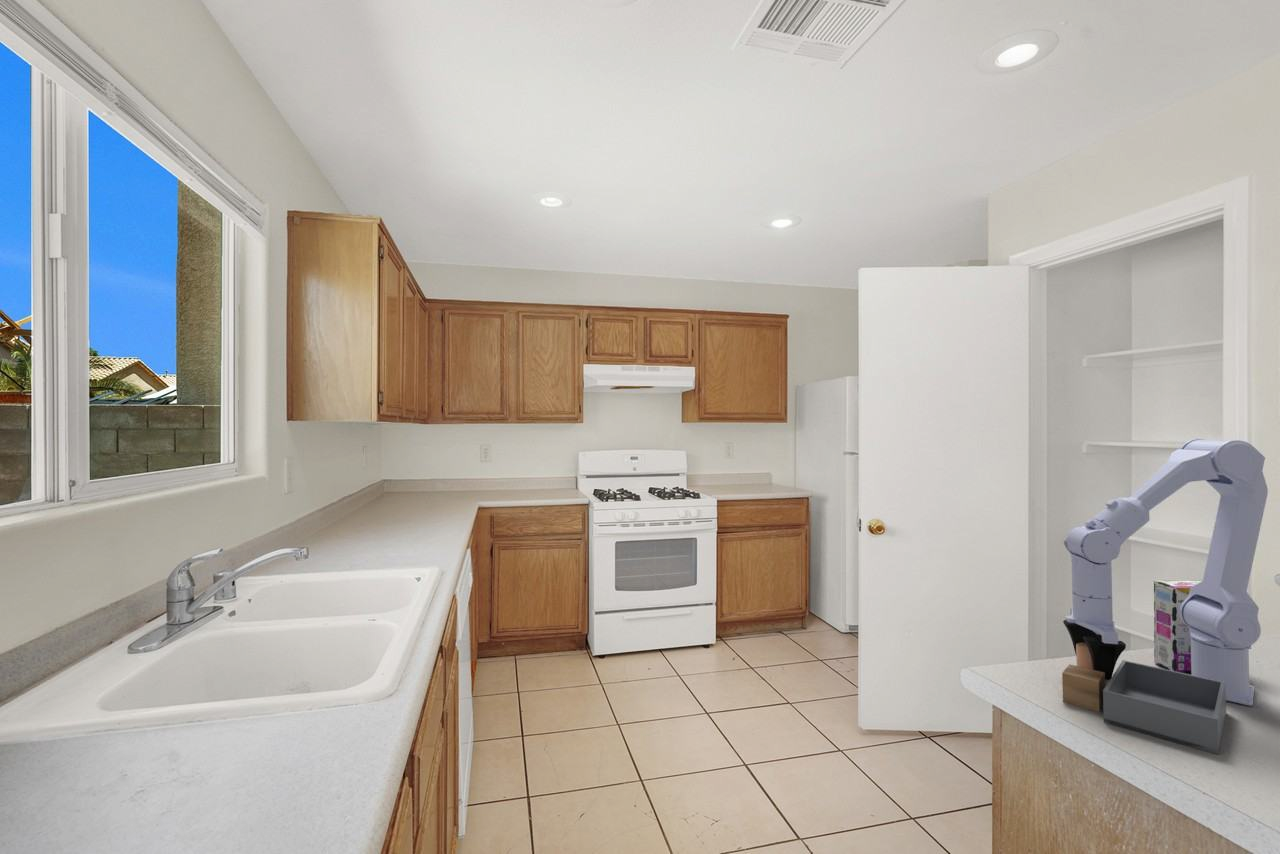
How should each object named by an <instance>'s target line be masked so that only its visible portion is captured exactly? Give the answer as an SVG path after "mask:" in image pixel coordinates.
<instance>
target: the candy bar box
mask: <svg viewBox="0 0 1280 854" xmlns="http://www.w3.org/2000/svg"><path fill="white" fill-rule="evenodd" d="M1201 581H1202V580H1154V581H1153V619H1154V622H1153V623H1154V625H1153V628H1154V629H1153V630H1154V633H1153V634H1154V635H1153V637H1154V638H1153V639H1154V642H1153V646H1154V649H1153V650H1154V651H1153V654H1154V655H1153V656H1154V660H1153V661H1154V664H1156V665H1157V666H1160V667H1162V668H1163V669H1166V670H1171V671H1176V672H1180V673H1185V674H1189V673H1190V674H1191V636H1190V633H1189V627H1188V626H1187V625H1186V624H1184V622H1183V621H1182V620H1181V617H1180V614H1179V610H1180V606H1181V604H1182V603H1183V602H1184V600H1185V599H1186V598H1187V597H1188V595H1189V592H1190V588H1191V587H1193V586H1194V585H1196V584H1198V583H1200V582H1201Z"/></svg>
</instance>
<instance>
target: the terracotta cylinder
mask: <svg viewBox="0 0 1280 854" xmlns="http://www.w3.org/2000/svg"><path fill="white" fill-rule="evenodd" d="M1075 657H1076V666H1079V667H1083V668H1087V669H1091V670H1093V666H1092V660H1091V655H1090V652H1089V649H1088V647H1087V645H1086V643H1077V644H1076V654H1075ZM1111 678H1112V677H1111ZM1109 681H1110V680H1105V687H1106V685H1107V684H1108V682H1109Z"/></svg>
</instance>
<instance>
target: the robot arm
mask: <svg viewBox="0 0 1280 854" xmlns="http://www.w3.org/2000/svg"><path fill="white" fill-rule="evenodd" d="M1265 460H1266V457H1265V455H1263V454H1262V453H1261V452H1260V451H1259V450H1258V449H1256V447H1255V446H1254V445H1252V444H1251V443H1249V442H1247V441H1245V440H1240V439H1239V440H1238V439H1236V440H1235V439H1232V440H1217V439H1215V440H1214V439H1213V440H1211V439H1203V438H1194V439H1190V440H1188V441H1186V442H1184V443H1183V444H1182V445H1181V446H1180V448H1177V449H1176V450H1174V451H1173V452H1171V454H1170V456H1169V458H1168V460H1167V461H1166V462H1165V463H1164V464H1163V465H1162V466H1160V468H1159V469H1158V470H1157V471H1156V472H1155V473H1154V474H1153V475H1152V476H1150V477H1149V479H1148V480H1147V481H1145V482H1144V484H1142V485H1141V486H1140V487H1139V488H1137V490H1136V491H1135V492H1134V493H1133V494H1132V495H1130V497H1117V498H1115V499H1109V500H1107V502H1105V506H1106V507H1105V508H1103V509H1102V510H1101V511H1100V512H1098V513H1097V514H1096V515H1095V516H1094V517H1093V518H1092V519H1091V518H1088V519H1087V520H1086V521H1085V522H1084V523H1085V526H1083V525H1081V526H1076V527H1074V528H1073V529H1071V530H1070V531H1069V532H1068V534H1067V538H1066V539H1064V540H1063V545H1064V547H1065V549H1066V550H1067V552H1068V553H1069V554H1070V557H1071V589H1072V590H1071V591H1072V592H1071V593H1072V596H1071V597H1072V606H1069V609H1070V611H1069V615H1065V618H1064V620H1063V622H1062V623H1063V624H1064V627H1066V630H1067V632H1068V634H1069V636H1070V640H1071V642H1072V645H1073V649H1074V653H1075V655H1076V644H1077V643H1086V645H1087V647H1088V649H1089V652H1090V655H1091V660H1092V666H1093V670H1096V671H1100V672H1104V673H1105V680H1110V679H1111V677H1112V676H1113V674H1114V672H1115V668H1116V664H1117V662H1118V659H1119V658H1120V656H1121V654H1122V653H1123V652H1124V651H1125V650H1126V648H1127V646H1126V645H1127V644H1126V643H1125V642H1123V641H1122V640H1119V633H1118V632H1117V631H1116V627H1115V621H1114V619H1113V616H1114V615H1113V573H1112V570H1113V569H1112V561H1113V560H1116V559H1117V558H1118V557H1119V555H1120V552H1121V546H1122V545H1123V544H1124V542H1126V541H1127V540H1128V539H1129V538H1130V537H1132V536H1133V535H1134V534H1135V533H1136V532H1137V531H1139V530H1140V529H1141V528H1142V527H1144V526H1145V525H1146V524H1148V522H1150V519H1151V517H1150V511H1151V510H1153V509H1154V508H1155V507H1156V506H1158V505H1159V504H1161V503H1163V501H1165V500H1166V499H1167V498H1169V497H1170V496H1173V494H1174V493H1176V492H1177V491H1179V490H1180V489H1182V488H1183V487H1184V486H1186V485H1187V484H1189V483H1191V482H1201V481H1205V482H1206V483H1207V484H1209V485H1210V486H1211V487H1212V488H1213V489H1214V490H1215V491H1216V492H1217V493H1218V494H1219V495H1220V496H1219V497H1220V498H1219V503H1218V506H1217V512H1216V516H1215V521H1214V525H1213V531H1212V536H1211V540H1210V545H1209V551H1208V555H1207V559H1206V564H1205V569H1204V572H1203V578H1202V580H1200V581H1201V582H1200V583H1198V584H1196V585H1194V586H1193V587H1191V588H1190V592H1189V595H1188V597H1187V598H1186V599H1185V600H1184V602H1183V603H1182V604H1181V606H1180V610H1179V614H1180V617H1181V620H1182V621H1183V622H1184V624H1186V625H1187V626H1188V627H1189V633H1190V636H1191V673H1190V675H1194V676H1199V677H1203V678H1208V679H1212V680H1217V681H1222V682H1226V702H1227V701H1228V702H1233V703H1236V704H1241V705H1244V706H1250V707H1251V706H1254V694H1255V686H1254V685H1251V684H1250V657H1249V656H1250V655H1249V654H1250V652H1249V650H1251V649H1252V645H1254V644H1255V643H1257V641H1258V640H1259V638H1260V636H1261V632H1262V631H1261V624H1260V621H1259V618H1258V615H1259V610H1260V608H1259V606H1258V605H1257V603H1256V601H1254V599H1253V598H1252V596H1251V595H1250V594H1249V593H1248V586H1249V583H1250V579H1251V573H1252V567H1253V565H1254V564H1253V563H1254V559H1255V553H1256V550H1257V544H1258V542H1259V541H1258V540H1259V536H1260V531H1261V526H1262V521H1263V516H1264V512H1265V507H1266V504H1267V498H1268V492H1269V491H1268V489H1269V488H1268V485H1267V483H1266V482H1267V481H1266V479H1265V478H1266V477H1265V476H1264V471H1263V469H1264V466H1265Z"/></svg>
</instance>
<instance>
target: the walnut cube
mask: <svg viewBox="0 0 1280 854" xmlns="http://www.w3.org/2000/svg"><path fill="white" fill-rule="evenodd" d="M1061 674H1062V675H1061V679H1062V681H1061V683H1062V702H1064V703H1067V704H1071V705H1074V706H1078V707H1082V708H1084V709H1085V708H1086V709H1089V710H1093V711H1096V712H1101V710H1102V708H1103V707H1102V706H1103V690H1104V688H1105V673H1104V672H1100V671H1096V670H1091V669H1087V668H1083V667H1079V666H1077V665H1073V664H1068V665H1067V667H1066V668H1065V669H1064V670H1063V671H1062V672H1061Z"/></svg>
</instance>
